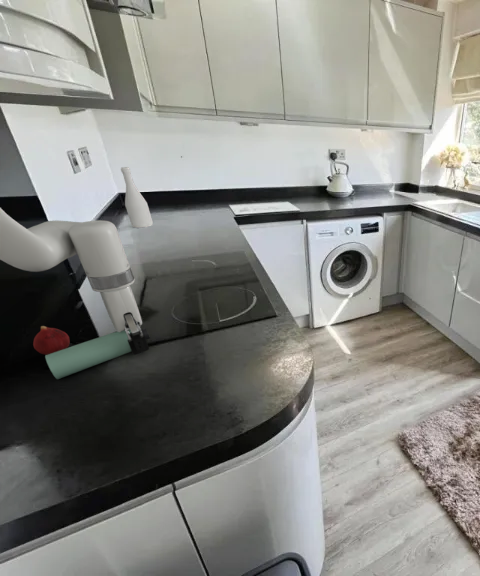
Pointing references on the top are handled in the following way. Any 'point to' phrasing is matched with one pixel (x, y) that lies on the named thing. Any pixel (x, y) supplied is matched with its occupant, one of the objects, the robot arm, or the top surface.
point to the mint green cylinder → (89, 353)
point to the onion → (50, 340)
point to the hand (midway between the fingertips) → (137, 345)
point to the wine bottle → (135, 203)
